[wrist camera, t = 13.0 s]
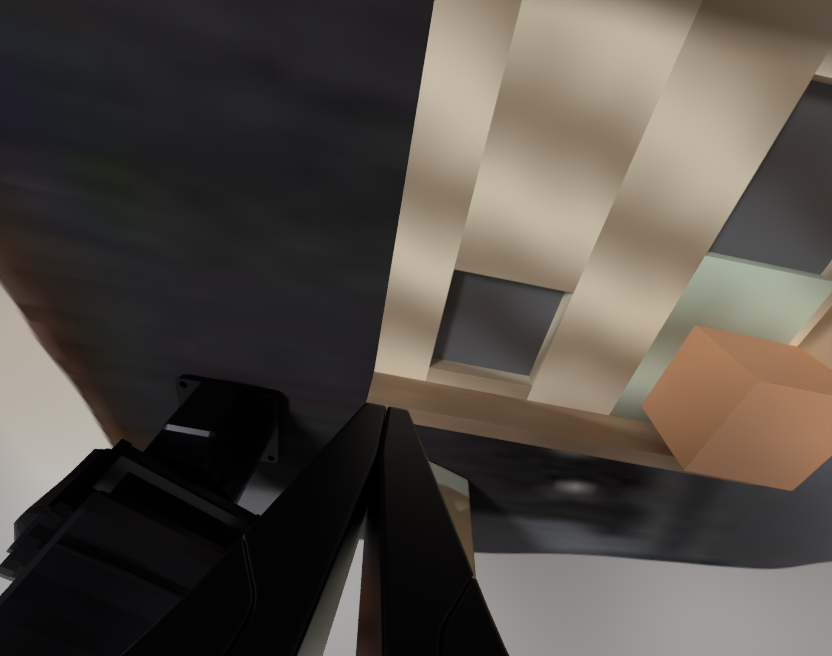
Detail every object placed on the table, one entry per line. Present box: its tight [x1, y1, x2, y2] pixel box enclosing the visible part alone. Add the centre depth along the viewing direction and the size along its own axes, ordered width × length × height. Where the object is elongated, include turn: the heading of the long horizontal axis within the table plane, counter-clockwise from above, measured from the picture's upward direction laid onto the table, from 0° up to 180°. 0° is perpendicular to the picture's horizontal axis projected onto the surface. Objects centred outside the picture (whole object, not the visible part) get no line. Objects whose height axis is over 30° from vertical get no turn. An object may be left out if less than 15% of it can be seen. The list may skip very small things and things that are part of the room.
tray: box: [367, 0, 832, 486], centre depth 17 cm, size 21×22×4 cm
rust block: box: [641, 325, 832, 491], centre depth 19 cm, size 6×6×4 cm
